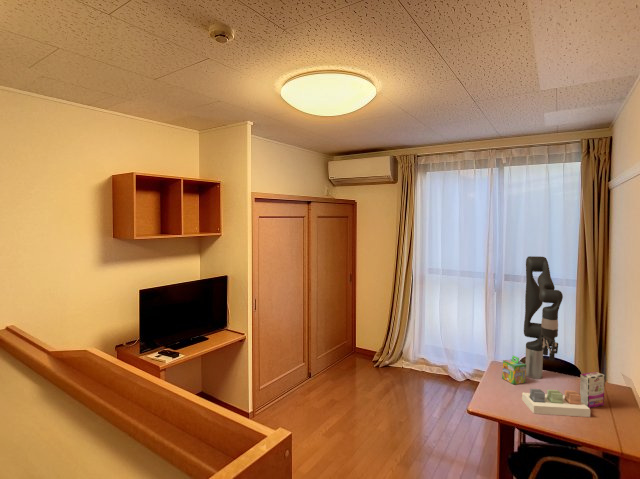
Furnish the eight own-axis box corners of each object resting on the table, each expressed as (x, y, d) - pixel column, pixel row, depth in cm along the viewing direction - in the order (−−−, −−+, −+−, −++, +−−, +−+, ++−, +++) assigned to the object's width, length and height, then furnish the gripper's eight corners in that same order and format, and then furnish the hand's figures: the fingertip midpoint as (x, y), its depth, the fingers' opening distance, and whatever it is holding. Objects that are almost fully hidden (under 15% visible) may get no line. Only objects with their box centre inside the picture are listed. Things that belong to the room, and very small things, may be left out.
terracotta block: (564, 401, 189) (564, 390, 188) (574, 402, 188) (575, 390, 188) (569, 406, 184) (570, 395, 183) (580, 407, 183) (581, 395, 183)
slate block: (529, 399, 191) (530, 388, 190) (539, 400, 190) (540, 389, 190) (534, 404, 186) (534, 393, 185) (544, 405, 185) (544, 393, 185)
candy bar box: (594, 401, 194) (596, 371, 193) (604, 405, 189) (605, 375, 188) (578, 403, 191) (579, 373, 190) (587, 408, 186) (589, 377, 186)
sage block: (547, 400, 190) (547, 389, 189) (557, 401, 189) (557, 390, 189) (551, 405, 185) (552, 394, 184) (562, 406, 184) (562, 394, 184)
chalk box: (501, 378, 222) (502, 354, 221) (513, 376, 225) (514, 353, 224) (513, 385, 213) (514, 360, 212) (526, 383, 216) (526, 358, 215)
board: (521, 399, 196) (522, 392, 195) (573, 402, 192) (574, 395, 192) (533, 413, 182) (534, 405, 182) (590, 417, 178) (590, 409, 178)
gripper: (535, 322, 200) (534, 352, 201) (548, 330, 186) (547, 362, 187) (550, 323, 199) (549, 353, 200) (564, 331, 185) (563, 363, 186)
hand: (548, 357), depth 194 cm, fingers open, 6 cm apart
